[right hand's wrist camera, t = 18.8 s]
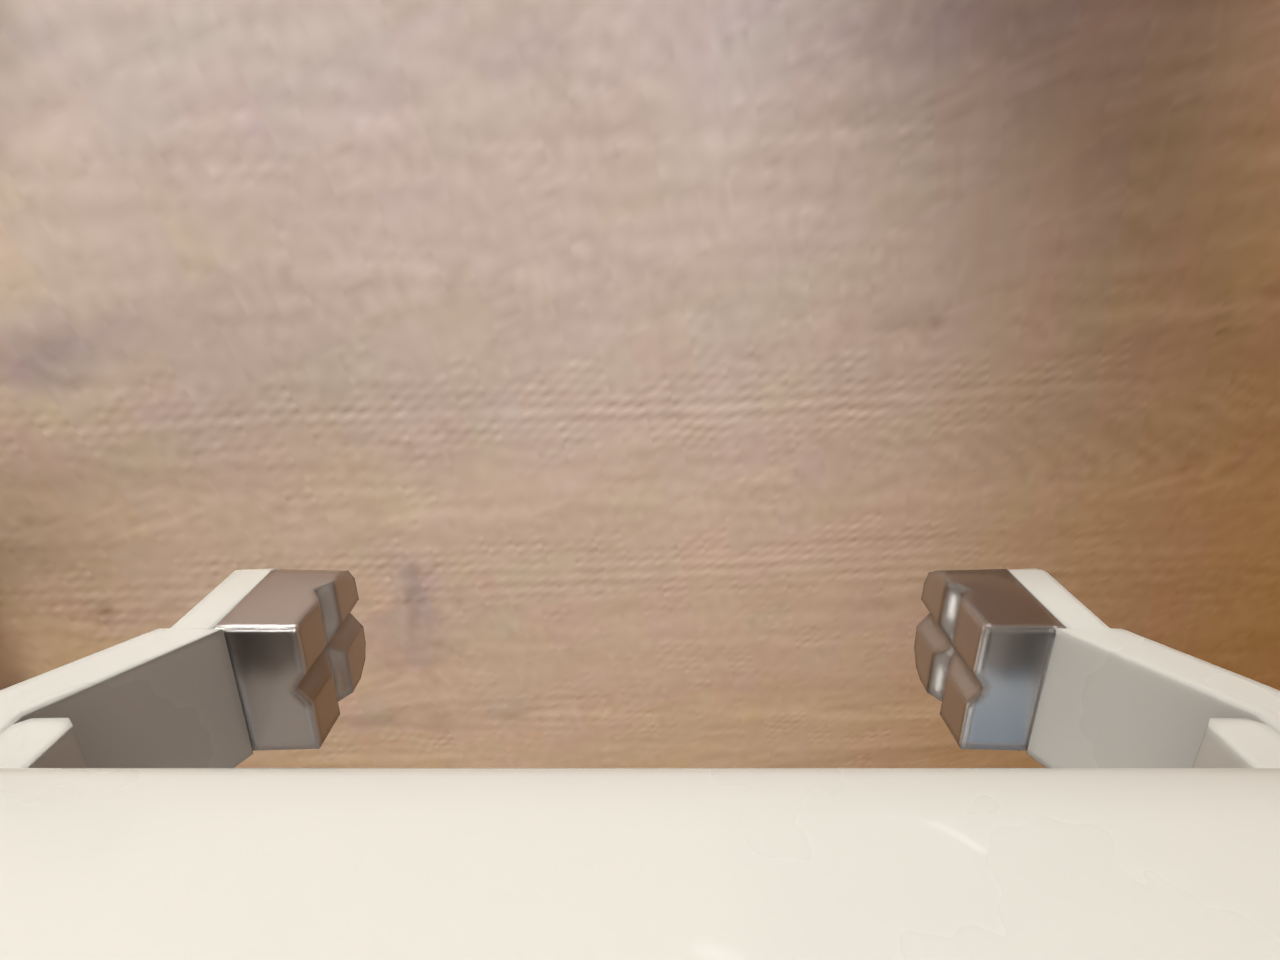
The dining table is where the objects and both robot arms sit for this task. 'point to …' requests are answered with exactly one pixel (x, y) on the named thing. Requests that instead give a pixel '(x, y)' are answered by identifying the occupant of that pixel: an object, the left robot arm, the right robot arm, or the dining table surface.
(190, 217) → the dining table surface
